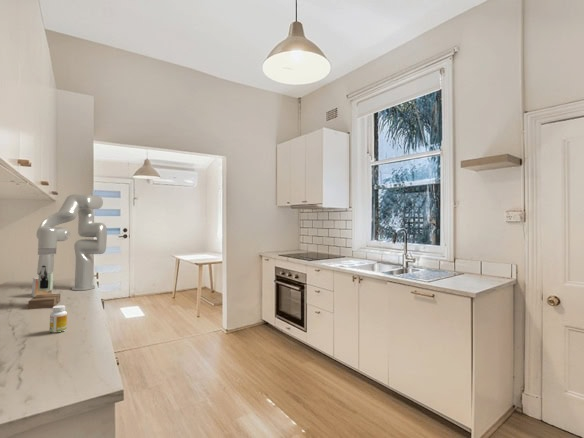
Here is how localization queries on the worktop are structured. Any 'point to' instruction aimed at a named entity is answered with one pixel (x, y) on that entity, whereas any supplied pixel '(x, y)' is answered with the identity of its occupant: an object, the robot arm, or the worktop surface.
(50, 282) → the sage block
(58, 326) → the supplement bottle
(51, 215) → the robot arm
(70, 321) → the worktop surface
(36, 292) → the small box
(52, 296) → the walnut base
